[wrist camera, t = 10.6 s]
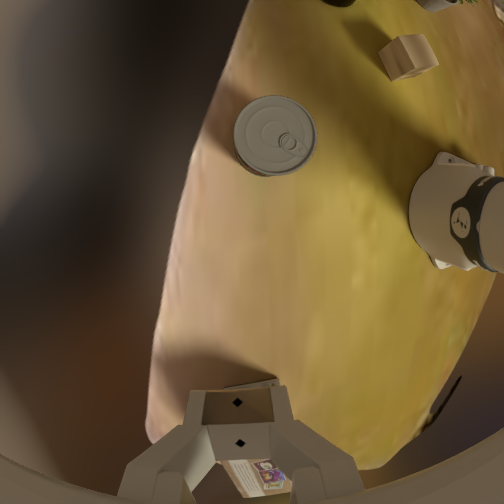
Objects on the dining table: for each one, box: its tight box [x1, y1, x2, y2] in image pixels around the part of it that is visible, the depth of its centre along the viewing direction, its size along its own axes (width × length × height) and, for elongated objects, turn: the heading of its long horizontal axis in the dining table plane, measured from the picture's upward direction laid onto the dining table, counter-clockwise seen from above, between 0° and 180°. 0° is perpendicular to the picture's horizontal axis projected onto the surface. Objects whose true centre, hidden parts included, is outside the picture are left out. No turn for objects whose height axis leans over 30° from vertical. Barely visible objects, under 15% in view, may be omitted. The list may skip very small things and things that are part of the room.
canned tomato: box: [233, 95, 317, 177], centre depth 31 cm, size 8×8×11 cm
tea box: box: [221, 378, 292, 498], centre depth 39 cm, size 15×10×15 cm, turn 13°
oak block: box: [378, 34, 439, 81], centre depth 30 cm, size 5×5×7 cm
